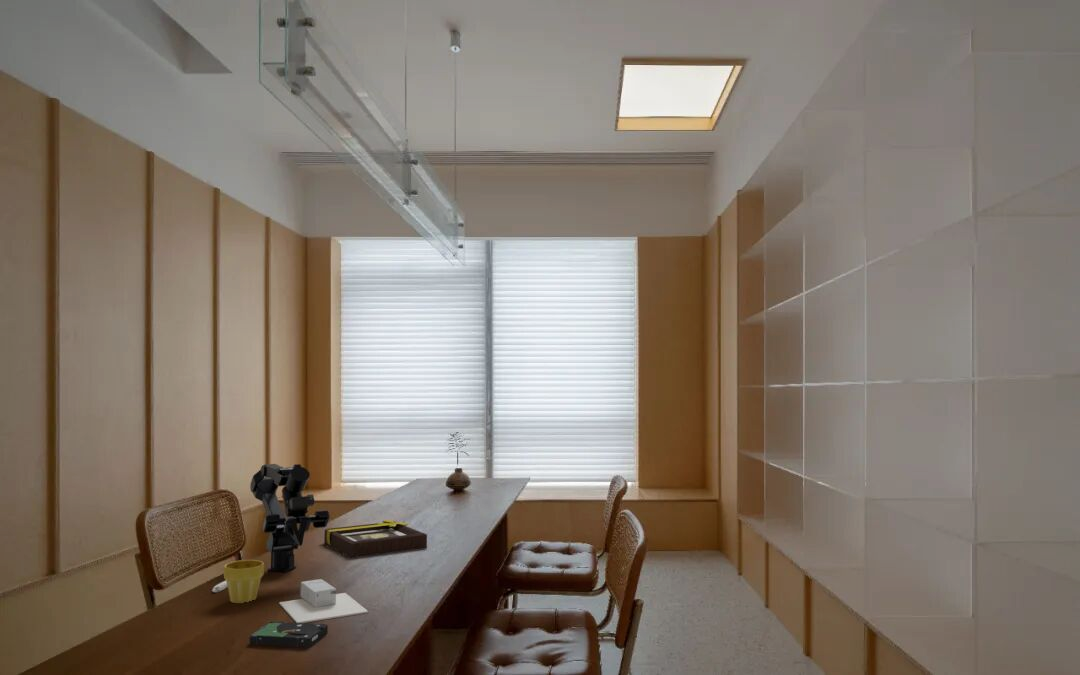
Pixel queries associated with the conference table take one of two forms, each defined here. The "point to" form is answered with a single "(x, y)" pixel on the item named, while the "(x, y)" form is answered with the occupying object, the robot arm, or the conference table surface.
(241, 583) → the plant pot
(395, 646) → the conference table surface
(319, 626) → the disk drive
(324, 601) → the skincare box
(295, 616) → the mat
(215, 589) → the marker
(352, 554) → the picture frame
